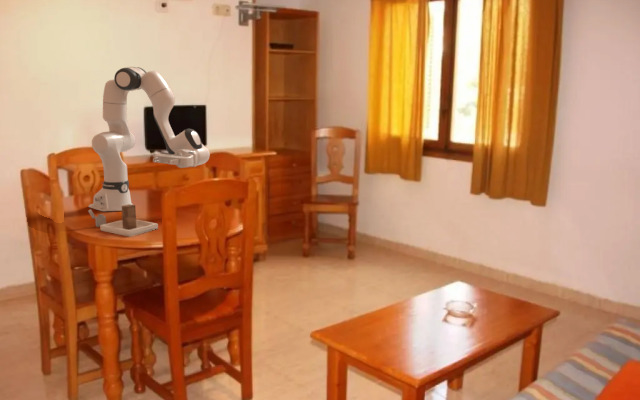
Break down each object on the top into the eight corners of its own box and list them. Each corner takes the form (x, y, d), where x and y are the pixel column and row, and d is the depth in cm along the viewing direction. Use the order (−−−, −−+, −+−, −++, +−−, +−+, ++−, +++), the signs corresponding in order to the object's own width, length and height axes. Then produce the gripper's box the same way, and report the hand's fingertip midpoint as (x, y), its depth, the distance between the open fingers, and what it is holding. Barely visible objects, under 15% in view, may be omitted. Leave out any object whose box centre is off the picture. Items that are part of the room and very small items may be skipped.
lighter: (105, 225, 268) (104, 207, 266) (106, 225, 267) (105, 208, 265) (88, 226, 264) (87, 209, 263) (89, 227, 263) (88, 210, 261)
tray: (100, 230, 259) (100, 225, 258) (129, 223, 272) (129, 218, 272) (129, 236, 250) (129, 231, 249) (158, 229, 263) (157, 223, 263)
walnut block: (122, 228, 260) (121, 205, 258) (129, 226, 263) (128, 204, 261) (129, 229, 258) (128, 206, 256) (136, 227, 261) (135, 205, 259)
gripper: (166, 150, 288) (145, 152, 277) (198, 153, 278) (177, 156, 266) (167, 162, 290) (145, 166, 278) (199, 166, 279) (178, 170, 268)
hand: (161, 161), depth 272 cm, fingers open, 8 cm apart
